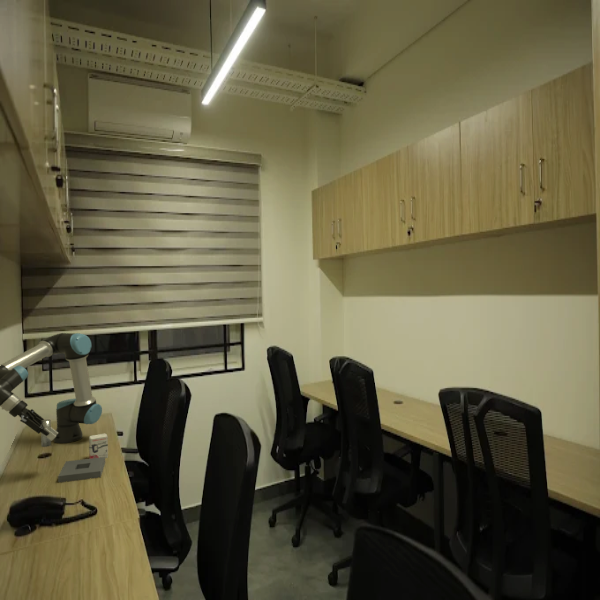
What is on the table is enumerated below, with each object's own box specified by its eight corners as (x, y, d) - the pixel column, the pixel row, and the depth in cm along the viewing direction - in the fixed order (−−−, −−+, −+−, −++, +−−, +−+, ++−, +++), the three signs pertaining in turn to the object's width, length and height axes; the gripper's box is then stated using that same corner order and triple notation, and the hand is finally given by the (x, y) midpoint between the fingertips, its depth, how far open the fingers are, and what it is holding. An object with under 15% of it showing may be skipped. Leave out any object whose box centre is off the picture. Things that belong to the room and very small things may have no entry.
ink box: (90, 461, 227) (90, 438, 226) (89, 458, 231) (88, 436, 230) (108, 457, 231) (108, 435, 231) (106, 454, 235) (106, 433, 235)
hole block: (66, 467, 219) (66, 461, 219) (105, 462, 225) (105, 456, 224) (58, 482, 202) (58, 476, 202) (100, 477, 207) (100, 471, 207)
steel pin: (42, 444, 211) (42, 419, 211) (52, 443, 212) (51, 419, 212) (40, 447, 207) (39, 422, 207) (50, 446, 209) (49, 421, 208)
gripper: (14, 407, 213) (53, 437, 218) (2, 417, 196) (44, 449, 202) (26, 395, 214) (64, 425, 220) (15, 404, 198) (57, 436, 204)
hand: (55, 436), depth 211 cm, fingers closed on steel pin, 4 cm apart
